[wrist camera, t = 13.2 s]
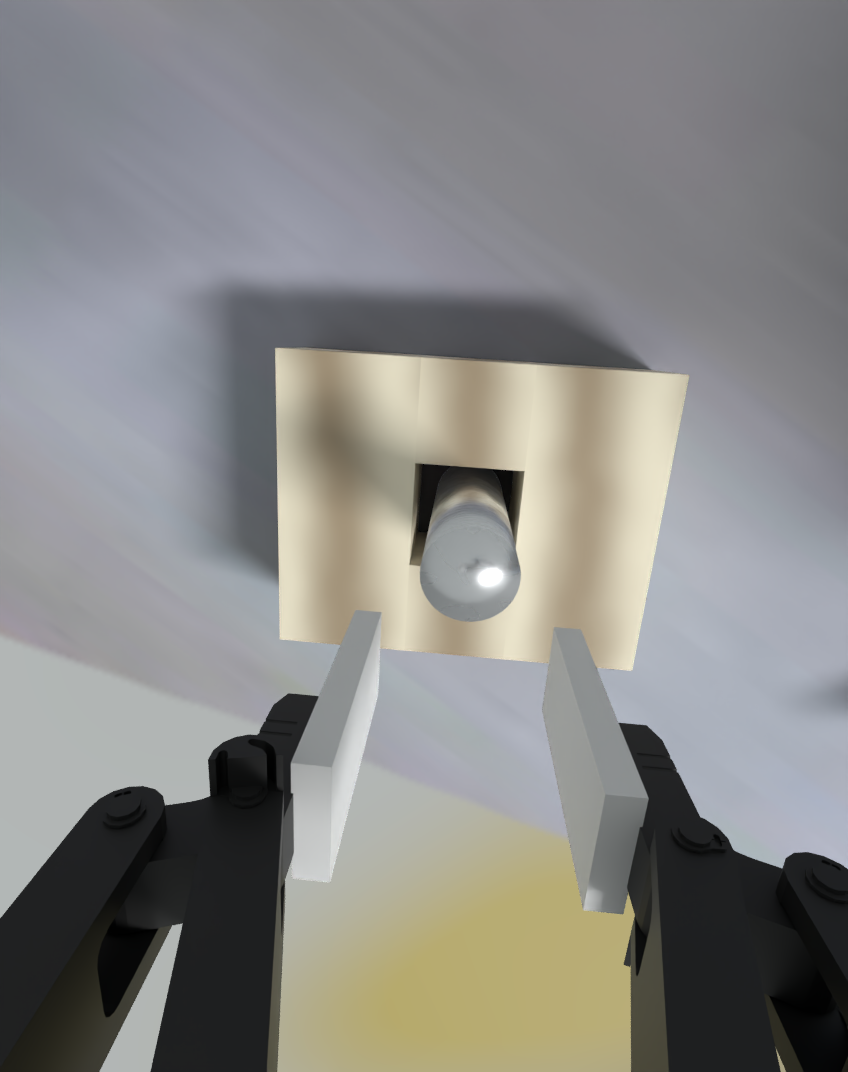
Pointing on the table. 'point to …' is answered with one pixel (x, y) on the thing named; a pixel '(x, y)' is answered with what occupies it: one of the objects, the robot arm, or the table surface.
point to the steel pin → (469, 547)
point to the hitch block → (481, 442)
